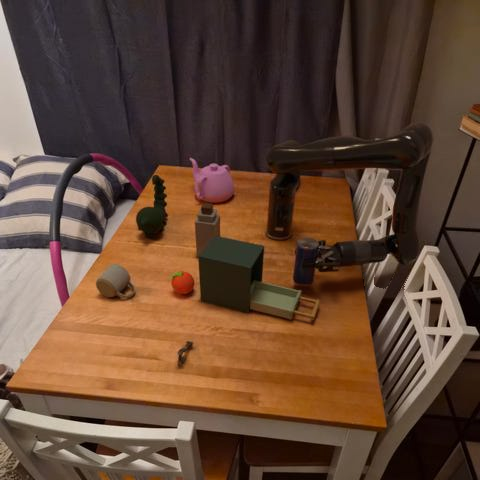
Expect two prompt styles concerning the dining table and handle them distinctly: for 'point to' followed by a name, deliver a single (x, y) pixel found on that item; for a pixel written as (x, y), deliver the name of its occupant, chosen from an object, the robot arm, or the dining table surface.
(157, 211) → the toy figurine
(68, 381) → the dining table surface
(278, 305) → the drawer
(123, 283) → the ceramic mug
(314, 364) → the dining table surface
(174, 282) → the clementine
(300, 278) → the navy can
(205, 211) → the perfume bottle
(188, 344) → the dark brown angled piece
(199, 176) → the teapot
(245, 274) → the cubby
